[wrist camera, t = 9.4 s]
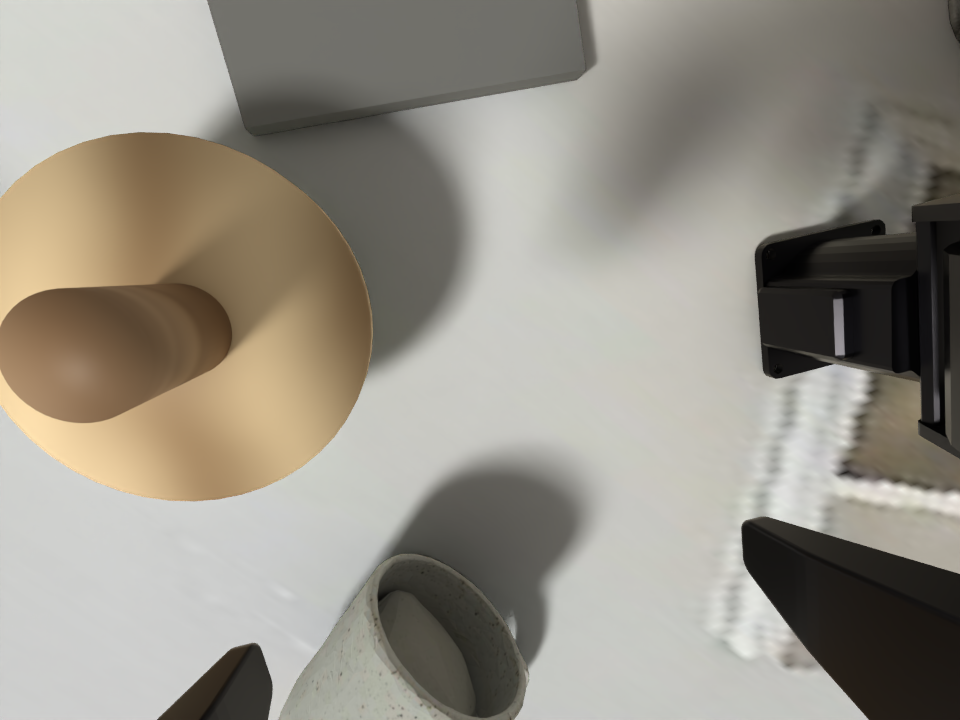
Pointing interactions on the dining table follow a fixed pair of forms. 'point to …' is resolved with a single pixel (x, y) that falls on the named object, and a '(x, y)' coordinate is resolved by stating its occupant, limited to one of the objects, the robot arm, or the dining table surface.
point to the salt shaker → (955, 16)
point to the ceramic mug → (414, 653)
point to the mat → (387, 54)
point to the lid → (176, 317)
